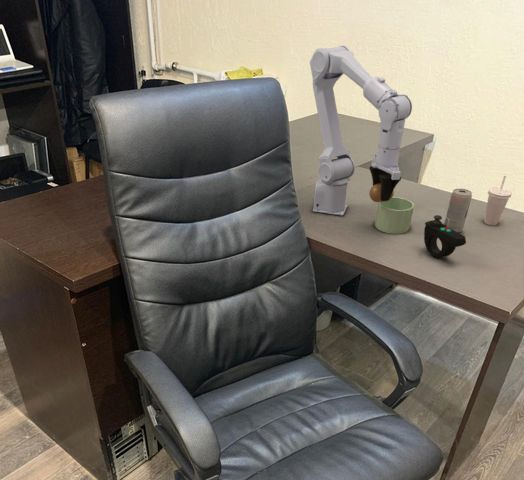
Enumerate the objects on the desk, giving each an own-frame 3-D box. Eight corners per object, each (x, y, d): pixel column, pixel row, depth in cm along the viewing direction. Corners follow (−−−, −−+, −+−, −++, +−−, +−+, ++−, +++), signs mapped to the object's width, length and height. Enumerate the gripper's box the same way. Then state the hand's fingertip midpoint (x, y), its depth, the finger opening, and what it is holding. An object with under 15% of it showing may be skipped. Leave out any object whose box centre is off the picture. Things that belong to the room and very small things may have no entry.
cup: (372, 230, 151) (376, 207, 147) (377, 217, 159) (380, 194, 155) (407, 236, 149) (412, 212, 145) (410, 222, 157) (415, 199, 152)
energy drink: (461, 229, 153) (472, 189, 146) (461, 237, 149) (472, 196, 142) (443, 227, 154) (453, 187, 147) (441, 234, 150) (452, 193, 143)
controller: (428, 245, 145) (436, 211, 139) (461, 265, 136) (472, 229, 130) (416, 249, 143) (424, 214, 137) (449, 268, 135) (459, 232, 128)
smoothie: (502, 220, 159) (517, 174, 150) (500, 228, 154) (516, 182, 146) (480, 216, 161) (494, 171, 152) (478, 224, 156) (491, 178, 148)
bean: (372, 205, 144) (374, 187, 141) (365, 198, 148) (368, 181, 145) (395, 204, 146) (398, 186, 142) (388, 197, 149) (391, 180, 146)
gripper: (364, 138, 143) (358, 187, 151) (385, 155, 131) (377, 207, 140) (389, 137, 144) (381, 186, 152) (411, 154, 133) (401, 206, 141)
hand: (380, 196), depth 146 cm, fingers closed on bean, 5 cm apart
